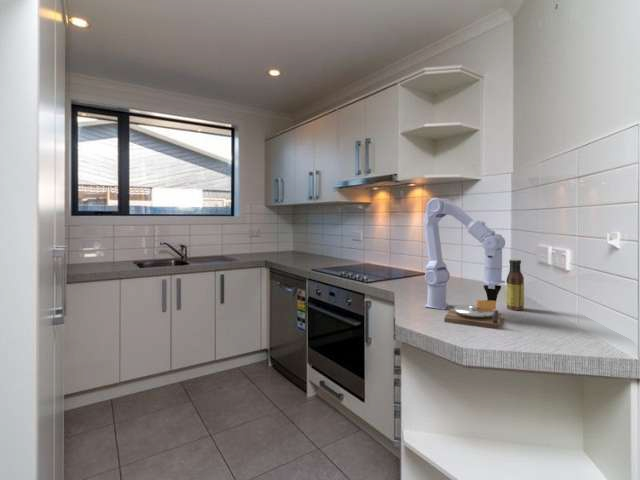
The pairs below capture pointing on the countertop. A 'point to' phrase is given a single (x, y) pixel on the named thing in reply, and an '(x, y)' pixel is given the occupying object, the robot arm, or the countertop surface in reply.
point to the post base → (474, 319)
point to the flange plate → (477, 309)
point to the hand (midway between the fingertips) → (491, 305)
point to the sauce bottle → (515, 286)
